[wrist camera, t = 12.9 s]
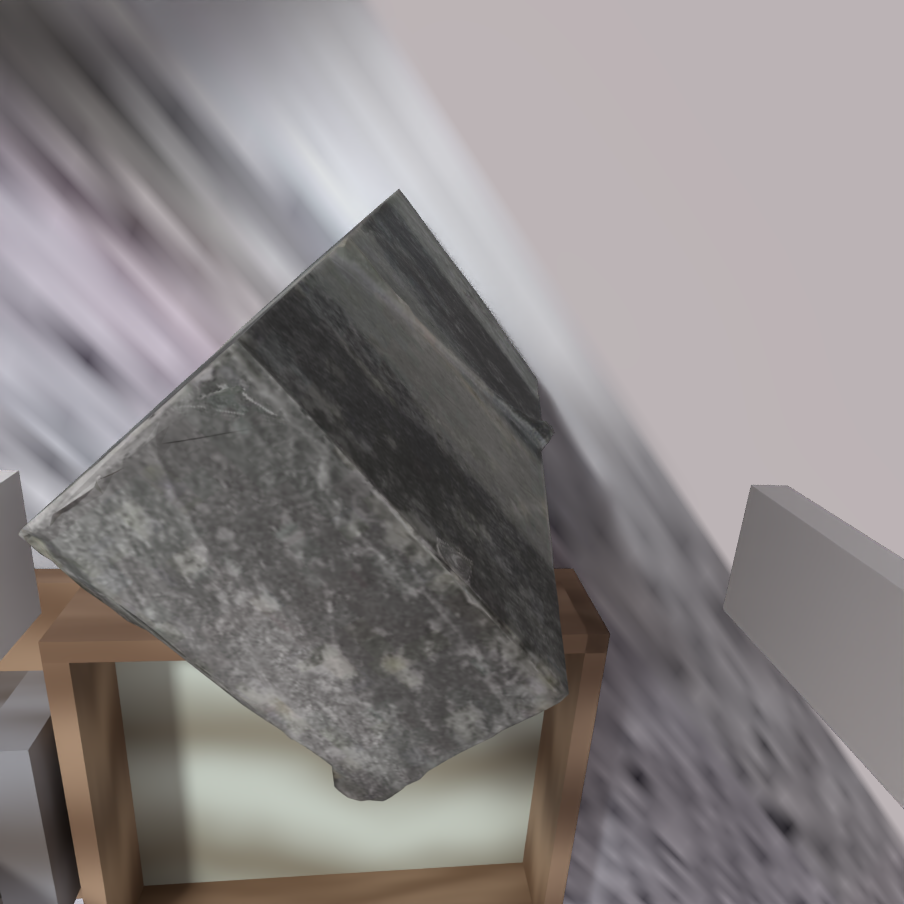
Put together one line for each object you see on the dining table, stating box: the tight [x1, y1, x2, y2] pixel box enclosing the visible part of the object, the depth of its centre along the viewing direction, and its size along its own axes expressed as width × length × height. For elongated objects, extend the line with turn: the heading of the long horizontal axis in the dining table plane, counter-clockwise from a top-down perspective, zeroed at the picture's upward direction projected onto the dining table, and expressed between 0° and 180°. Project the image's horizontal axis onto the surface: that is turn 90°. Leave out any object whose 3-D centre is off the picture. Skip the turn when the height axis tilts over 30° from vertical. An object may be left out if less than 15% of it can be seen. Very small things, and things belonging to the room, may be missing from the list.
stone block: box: [18, 189, 569, 801], centre depth 16 cm, size 9×14×5 cm
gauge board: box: [0, 569, 610, 904], centre depth 26 cm, size 16×28×5 cm, turn 86°
